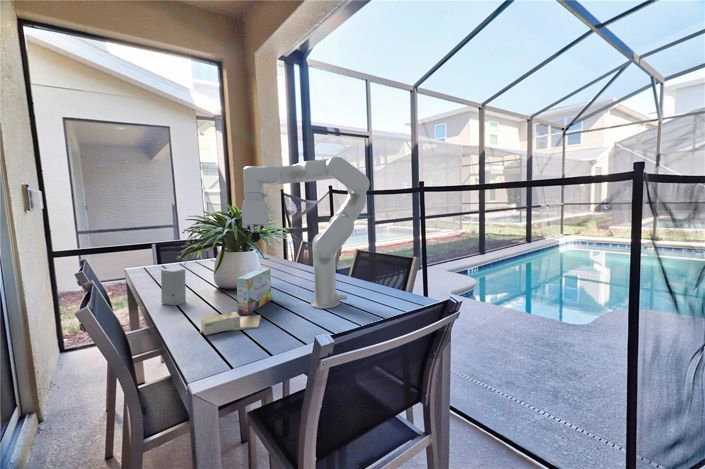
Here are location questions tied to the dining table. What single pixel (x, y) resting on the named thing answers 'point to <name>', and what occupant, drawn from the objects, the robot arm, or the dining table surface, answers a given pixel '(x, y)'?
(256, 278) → the snack box
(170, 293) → the skincare box
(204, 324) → the skincare box
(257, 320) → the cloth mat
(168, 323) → the dining table surface
